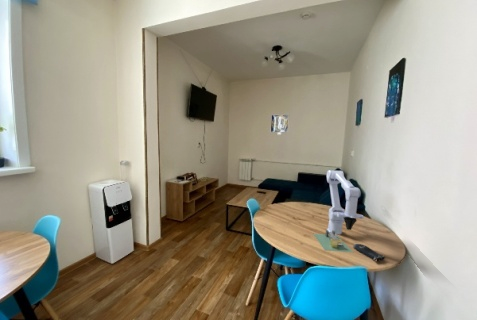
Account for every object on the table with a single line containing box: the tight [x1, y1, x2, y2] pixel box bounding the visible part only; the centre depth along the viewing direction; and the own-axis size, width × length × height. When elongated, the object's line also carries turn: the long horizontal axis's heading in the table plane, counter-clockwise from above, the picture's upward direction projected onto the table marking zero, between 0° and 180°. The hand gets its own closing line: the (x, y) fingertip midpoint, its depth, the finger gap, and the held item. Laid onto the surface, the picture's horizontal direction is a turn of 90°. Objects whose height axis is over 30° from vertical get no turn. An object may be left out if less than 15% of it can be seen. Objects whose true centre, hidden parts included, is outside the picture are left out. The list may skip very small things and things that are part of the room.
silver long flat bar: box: [328, 232, 342, 245], centre depth 122 cm, size 14×2×1 cm, turn 178°
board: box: [313, 229, 354, 253], centre depth 122 cm, size 20×16×5 cm
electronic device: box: [352, 243, 386, 262], centre depth 113 cm, size 9×6×15 cm
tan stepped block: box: [330, 238, 344, 248], centre depth 117 cm, size 3×6×4 cm, turn 88°
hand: (348, 229), depth 121 cm, fingers closed
